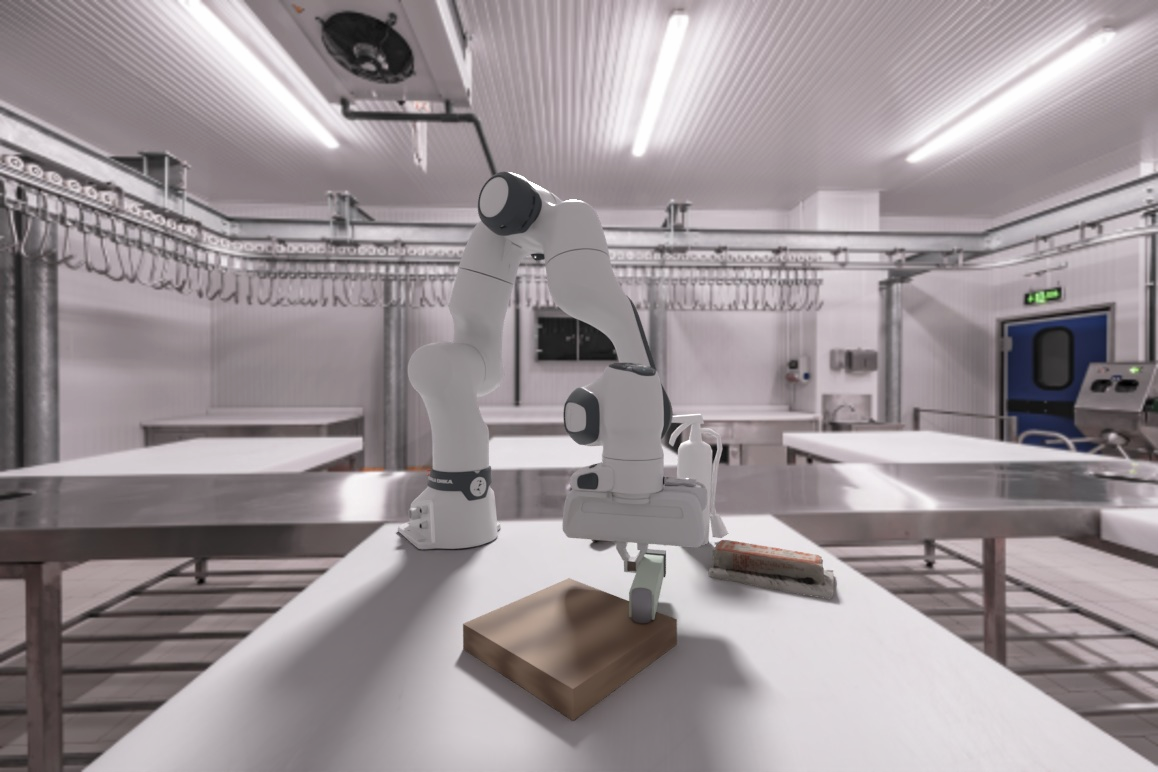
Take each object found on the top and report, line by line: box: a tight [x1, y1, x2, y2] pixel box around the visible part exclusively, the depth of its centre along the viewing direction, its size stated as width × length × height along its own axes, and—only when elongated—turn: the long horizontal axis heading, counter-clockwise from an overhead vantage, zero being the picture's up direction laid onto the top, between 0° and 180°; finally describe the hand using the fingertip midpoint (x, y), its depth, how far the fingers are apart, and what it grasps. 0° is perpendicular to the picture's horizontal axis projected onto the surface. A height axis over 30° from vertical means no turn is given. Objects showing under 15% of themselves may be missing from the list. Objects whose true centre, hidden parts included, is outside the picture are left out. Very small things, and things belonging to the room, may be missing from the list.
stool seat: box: [462, 577, 678, 722], centre depth 58 cm, size 18×18×3 cm
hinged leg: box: [628, 548, 667, 623], centre depth 65 cm, size 16×3×3 cm, turn 165°
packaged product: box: [708, 539, 835, 600], centre depth 79 cm, size 18×5×10 cm
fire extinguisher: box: [668, 413, 729, 546], centre depth 96 cm, size 7×12×25 cm, turn 83°
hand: (632, 571), depth 71 cm, fingers closed
